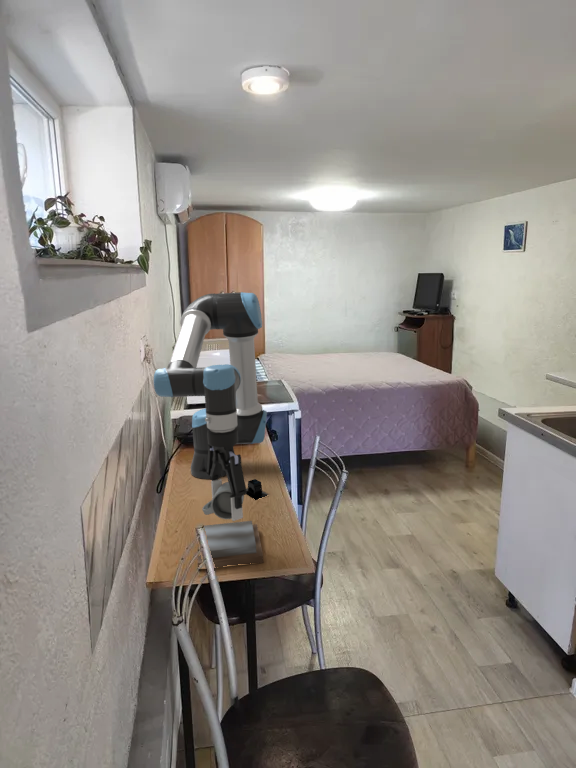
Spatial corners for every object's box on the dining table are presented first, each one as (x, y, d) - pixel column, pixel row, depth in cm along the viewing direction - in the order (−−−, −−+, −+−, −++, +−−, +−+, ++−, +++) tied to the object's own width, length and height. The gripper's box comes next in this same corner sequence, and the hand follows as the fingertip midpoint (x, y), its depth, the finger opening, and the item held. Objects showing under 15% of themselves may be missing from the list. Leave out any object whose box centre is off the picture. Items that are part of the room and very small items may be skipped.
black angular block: (274, 498, 159) (274, 484, 158) (255, 504, 155) (254, 491, 154) (254, 485, 169) (253, 472, 167) (235, 491, 164) (234, 478, 163)
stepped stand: (199, 536, 135) (198, 523, 135) (257, 530, 138) (256, 517, 137) (198, 570, 120) (196, 555, 119) (263, 562, 122) (262, 548, 121)
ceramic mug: (245, 504, 131) (244, 477, 129) (242, 519, 123) (240, 491, 121) (205, 505, 131) (203, 478, 129) (200, 520, 123) (198, 491, 121)
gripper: (189, 420, 129) (195, 498, 134) (230, 443, 110) (235, 533, 115) (215, 415, 133) (220, 491, 138) (258, 436, 114) (262, 523, 119)
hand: (227, 510), depth 126 cm, fingers closed on ceramic mug, 10 cm apart
